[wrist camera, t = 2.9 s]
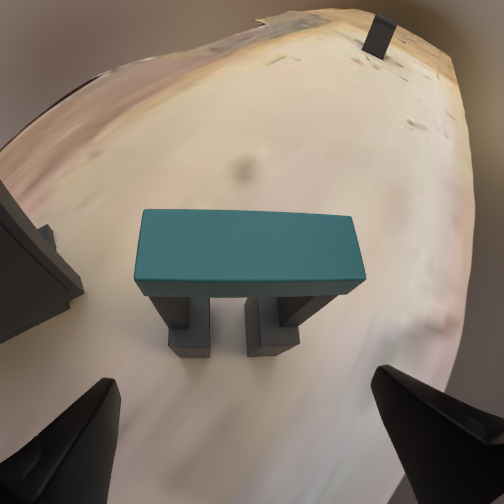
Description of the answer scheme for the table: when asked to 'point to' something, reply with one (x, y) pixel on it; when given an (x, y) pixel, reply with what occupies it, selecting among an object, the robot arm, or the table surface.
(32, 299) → the dark panel
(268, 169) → the table surface
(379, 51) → the phone stand
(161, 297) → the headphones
